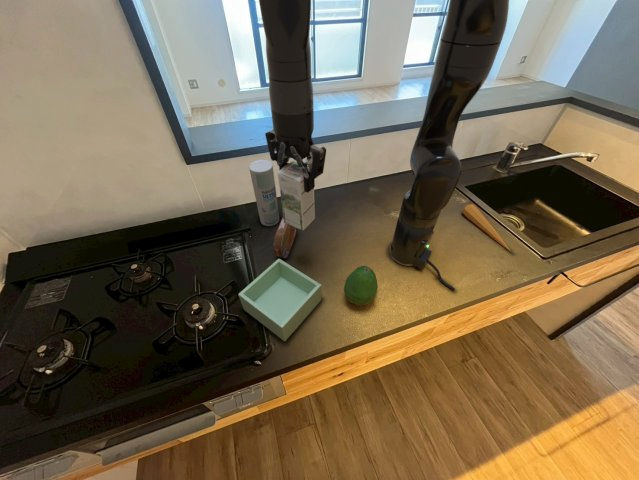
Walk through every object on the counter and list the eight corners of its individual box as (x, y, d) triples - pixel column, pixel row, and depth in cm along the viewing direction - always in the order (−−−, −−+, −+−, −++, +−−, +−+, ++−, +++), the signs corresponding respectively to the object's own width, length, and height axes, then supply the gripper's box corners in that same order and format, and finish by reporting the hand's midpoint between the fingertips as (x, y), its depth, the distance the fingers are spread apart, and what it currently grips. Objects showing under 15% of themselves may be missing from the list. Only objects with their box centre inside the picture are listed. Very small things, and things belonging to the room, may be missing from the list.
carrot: (459, 214, 95) (460, 206, 91) (471, 207, 94) (473, 199, 91) (503, 259, 83) (506, 252, 79) (517, 252, 83) (521, 245, 79)
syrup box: (315, 218, 69) (315, 166, 59) (302, 232, 66) (299, 179, 55) (296, 210, 71) (293, 159, 61) (283, 223, 68) (276, 171, 57)
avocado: (372, 315, 67) (379, 286, 59) (340, 307, 69) (343, 278, 60) (376, 289, 72) (384, 258, 64) (346, 282, 74) (350, 251, 65)
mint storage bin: (321, 300, 70) (321, 284, 65) (284, 341, 63) (282, 327, 58) (281, 274, 76) (278, 258, 71) (243, 309, 68) (237, 294, 64)
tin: (284, 264, 78) (281, 243, 72) (274, 262, 79) (270, 242, 73) (298, 228, 89) (296, 207, 83) (288, 227, 89) (286, 206, 83)
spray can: (266, 229, 88) (256, 174, 74) (256, 218, 92) (244, 164, 78) (283, 220, 91) (277, 166, 77) (272, 211, 95) (264, 157, 81)
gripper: (248, 101, 50) (261, 181, 62) (310, 122, 44) (312, 206, 56) (277, 90, 54) (284, 167, 66) (337, 107, 48) (333, 189, 60)
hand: (297, 184), depth 61 cm, fingers closed on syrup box, 6 cm apart
